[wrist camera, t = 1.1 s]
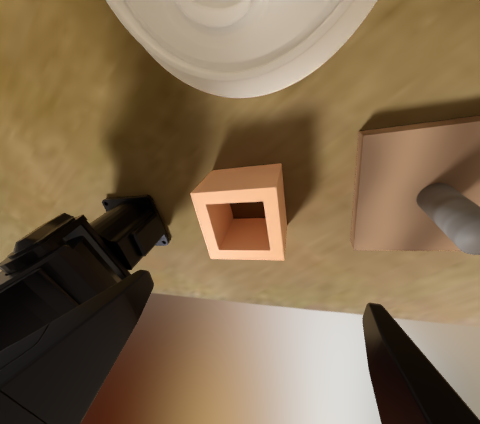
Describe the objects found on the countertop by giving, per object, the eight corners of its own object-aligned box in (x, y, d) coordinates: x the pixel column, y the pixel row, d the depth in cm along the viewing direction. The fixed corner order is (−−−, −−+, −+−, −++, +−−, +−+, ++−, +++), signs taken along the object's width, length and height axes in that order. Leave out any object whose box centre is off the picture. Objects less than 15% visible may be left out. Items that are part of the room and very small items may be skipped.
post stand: (350, 240, 21) (368, 296, 16) (358, 131, 16) (388, 157, 11) (483, 239, 18) (563, 308, 13) (541, 107, 13) (706, 126, 8)
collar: (226, 227, 24) (210, 258, 19) (212, 170, 21) (190, 193, 16) (287, 225, 22) (284, 260, 18) (281, 163, 19) (276, 187, 15)
